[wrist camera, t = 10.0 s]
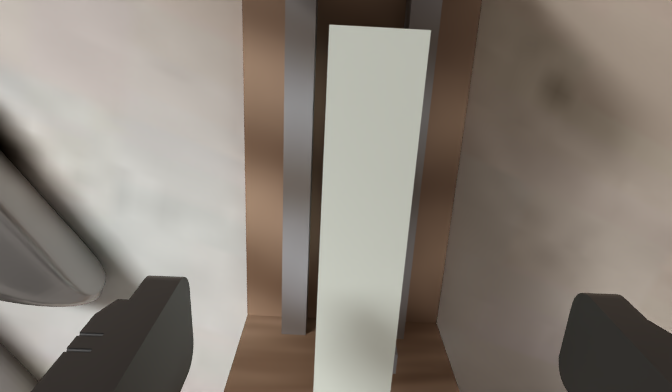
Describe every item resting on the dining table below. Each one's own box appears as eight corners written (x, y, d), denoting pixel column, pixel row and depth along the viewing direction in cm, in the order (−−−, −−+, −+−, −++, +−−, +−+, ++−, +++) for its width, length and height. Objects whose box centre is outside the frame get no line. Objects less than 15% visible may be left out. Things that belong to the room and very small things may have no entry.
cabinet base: (245, -80, 20) (142, -203, 9) (484, -67, 20) (649, -173, 9) (251, 327, 26) (195, 523, 16) (429, 335, 26) (489, 533, 16)
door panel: (332, 26, 20) (329, 24, 11) (397, 29, 20) (443, 30, 12) (320, 275, 24) (312, 411, 16) (375, 278, 24) (396, 414, 16)
